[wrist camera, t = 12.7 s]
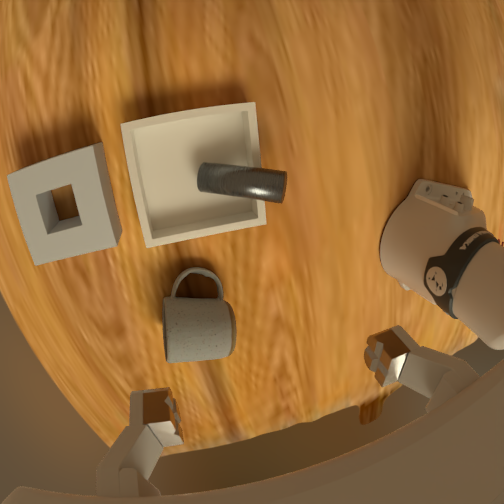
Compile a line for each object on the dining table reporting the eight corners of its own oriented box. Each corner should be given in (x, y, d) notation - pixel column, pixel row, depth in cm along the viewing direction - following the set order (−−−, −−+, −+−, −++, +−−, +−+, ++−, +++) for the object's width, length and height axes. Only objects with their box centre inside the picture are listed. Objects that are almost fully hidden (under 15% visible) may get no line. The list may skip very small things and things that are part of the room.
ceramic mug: (222, 332, 40) (235, 372, 34) (162, 334, 38) (165, 375, 31) (230, 263, 36) (246, 298, 29) (162, 262, 34) (162, 298, 27)
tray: (247, 103, 28) (255, 102, 26) (258, 215, 34) (266, 224, 32) (125, 123, 26) (120, 124, 23) (148, 236, 32) (146, 248, 29)
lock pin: (207, 156, 29) (287, 165, 27) (210, 180, 31) (286, 190, 29) (194, 173, 27) (281, 183, 25) (199, 198, 29) (280, 210, 27)
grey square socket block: (102, 141, 26) (92, 145, 23) (122, 231, 31) (117, 246, 27) (23, 167, 24) (6, 175, 21) (46, 249, 29) (35, 265, 25)
